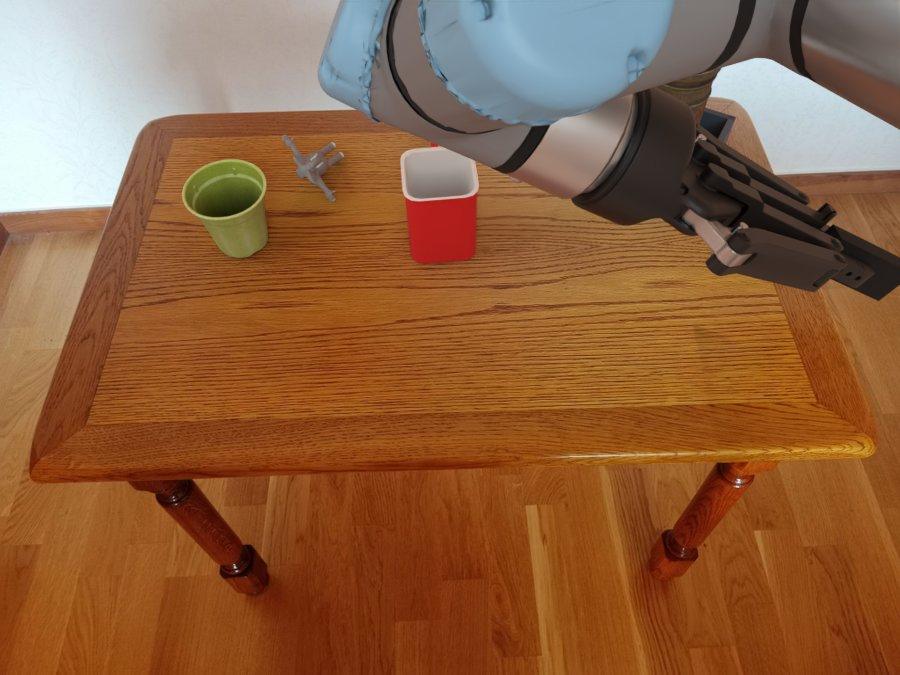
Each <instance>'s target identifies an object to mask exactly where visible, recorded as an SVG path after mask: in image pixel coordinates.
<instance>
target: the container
mask: <svg viewBox="0 0 900 675" xmlns="http://www.w3.org/2000/svg"><path fill="white" fill-rule="evenodd" d="M721 70H722V68H719V69H715V70H712V71H708V72H704V73H701V74H697V75H694V76H689V77H686V78H682V79H679V80H676V81H673V82H669V83H666V84H663V85H660V86H656V87H657V88H658V89H660V90H662V91H664V92H666V93H668V94H670V95H672V96H674V97H676V98H678V99H679V100H681V101H683V102H685V103H686V104H687V105H688V106H689V107H690V108H691V110H692V112H693V114H694V117H695V121H697V122H698V124H700V121H701V118H702V115H703V112H704V109H705V108H707V107H706V106H707V103H708V100H709V98H710V97H711V94H712V90H713V87H712V86H713V83H714V81H715V80H716V78H717V77H718V74H719V73H720V72H721Z"/></svg>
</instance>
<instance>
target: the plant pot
mask: <svg viewBox="0 0 900 675" xmlns="http://www.w3.org/2000/svg"><path fill="white" fill-rule="evenodd" d="M267 187H268V184H267V178H266V175H265V174H264V172H263V170H261V168H260V167H259V166H257V165H256V164H254V163H252V162H250V161H247V160H243V159H236V158H227V159H220V160H216V161H213V162H209V163H207V164H204V165H203V166H201V167H199V168H198V169H197V170H195V171H194V172H193V173H192V174H191V175H190V176H189V177H188V178H187V180H186V181H185V182H184V184H183V187H182V191H181V199H182V202H183V204H184V206H185V208H186V209H187V211H188V212H190V214H192V215H193V216H195V217H196V219H198V220H199V221H201V223H202V225H203V226H204V228H205V229H206V231H207V232H208V233H209V235H210V237H211V238H212V239H213V241H214V243H215V245H217V248H218V249H219V250H220V251H221V253H223V254H224V255H226V256H227V257H231V258H236V259H242V258H243V259H244V258H248V257H251V256H252V255H253V254H255V253H257V252H258V251H261V250H262V249H264V247H265V246H266V244H267V243H268V240H269V230H268V222H267V214H266V206H265V197H266V193H267Z"/></svg>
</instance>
